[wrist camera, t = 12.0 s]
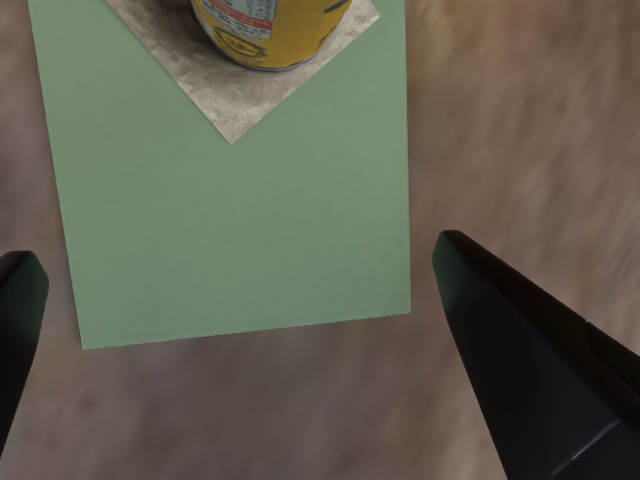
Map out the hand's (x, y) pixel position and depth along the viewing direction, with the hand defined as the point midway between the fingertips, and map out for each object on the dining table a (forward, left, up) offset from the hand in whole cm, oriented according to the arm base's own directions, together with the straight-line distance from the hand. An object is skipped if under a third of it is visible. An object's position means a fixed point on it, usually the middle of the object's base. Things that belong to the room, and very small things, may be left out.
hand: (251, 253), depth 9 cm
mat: (+6, 0, -9) cm, 11 cm away
